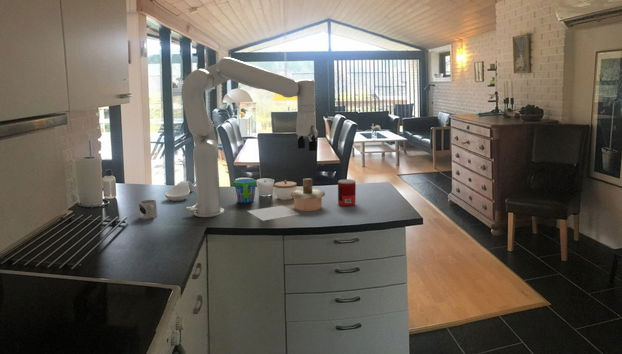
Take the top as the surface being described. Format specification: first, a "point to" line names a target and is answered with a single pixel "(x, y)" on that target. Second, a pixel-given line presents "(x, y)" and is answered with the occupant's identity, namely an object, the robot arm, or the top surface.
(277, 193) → the lidded jar
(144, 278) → the top surface
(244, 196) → the snack cup
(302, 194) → the lid
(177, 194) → the spoon rest
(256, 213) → the mat
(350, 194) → the canned food
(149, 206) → the mug
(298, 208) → the bowl
